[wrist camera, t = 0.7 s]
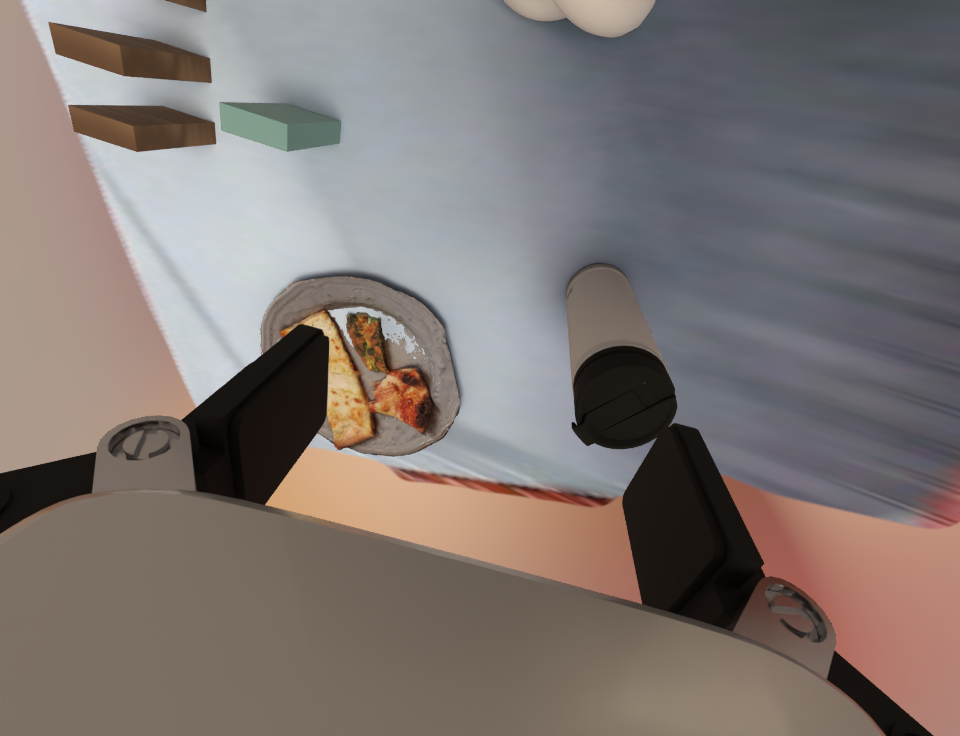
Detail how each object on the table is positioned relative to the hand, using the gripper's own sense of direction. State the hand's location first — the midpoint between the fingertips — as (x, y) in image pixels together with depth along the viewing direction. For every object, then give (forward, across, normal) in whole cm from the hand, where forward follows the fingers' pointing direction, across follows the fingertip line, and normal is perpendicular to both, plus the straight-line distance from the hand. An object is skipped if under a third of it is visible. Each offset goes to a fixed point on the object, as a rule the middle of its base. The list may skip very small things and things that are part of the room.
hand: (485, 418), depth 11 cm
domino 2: (+32, +33, +1) cm, 46 cm away
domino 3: (+32, +21, -2) cm, 38 cm away
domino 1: (+32, +33, -4) cm, 46 cm away
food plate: (+33, +14, +23) cm, 43 cm away
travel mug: (+32, -9, +6) cm, 34 cm away
